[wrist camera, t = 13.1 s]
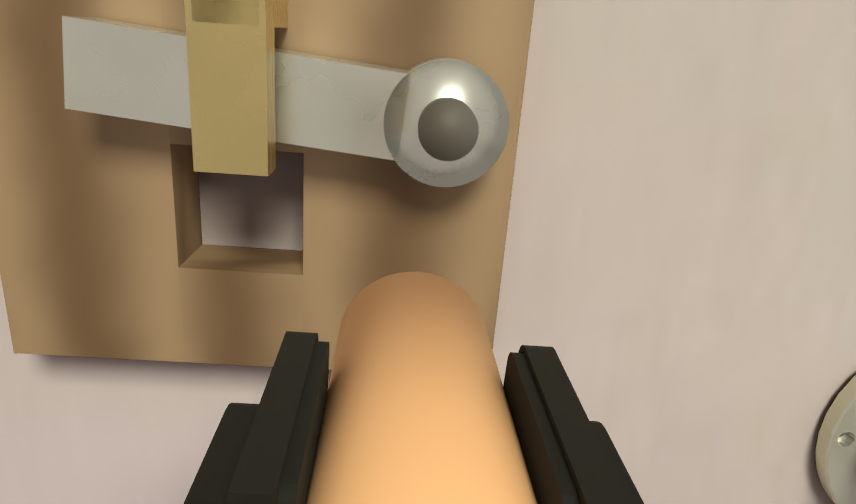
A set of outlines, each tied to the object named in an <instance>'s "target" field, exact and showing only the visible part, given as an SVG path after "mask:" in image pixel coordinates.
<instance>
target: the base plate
mask: <svg viewBox="0 0 856 504" xmlns="http://www.w3.org/2000/svg"><path fill="white" fill-rule="evenodd" d="M533 8H534V0H288V28H277V27H274V31H275V48H280V49H286V50H292V51H298V52H304V53H310V54H316V55H321V56H327V57H333V58H339V59H345V60H351V61H357V62H363V63H369V64H375V65H381V66H387V67H393V68H399V69H404V70H409V69H410V68H412V67H413V66H415V65H417V64H419V63H421V62H423V61H426V60H429V59H433V58H441V57H448V58H455V59H459V60H463V61H465V62H468V63H470V64H472V65H474V66H475V67H477V68H479V69H481V70H482V71H483V72H485V73H486V74H487V75H489V76H490V77H491V78H492V79H493V80H494V82H495V83H496V84H497V86H498V87H499V88H500V90H501V92H502V94H503V96H504V98H505V101H506V103H507V107H508V112H509V133H508V138H507V142H506V145H505V147H504V150H503V152H502V154H501V155H500V157H499V159H498V160H497V161H496V163H495V164H494V165H493V166H492V167H491V168H490V169H489V170H488V171H487V172H486V173H485V174H484V175H482V176H481V177H479V178H478V179H476V180H474V181H472V182H470V183H467V184H464V185H461V186H455V187H436V186H431V185H427V184H425V183H422V182H420V181H418V180H416V179H414V178H412V177H411V176H409V175H408V174H407V173H406V172H405V171H403V170H402V169H401V168H400V167H399V165H398V164H397V163H396V162H395V161H394V160H388V159H381V158H375V157H369V156H362V155H356V154H350V153H343V152H337V151H331V150H324V149H318V148H312V147H305V146H299V145H293V144H286V143H280V142H276V151H282V152H297V153H304V179H303V251H296V250H280V249H264V248H248V247H231V246H215V245H202V235H201V216H200V197H199V178H198V172H195V171H194V168H193V150H192V132H191V128H185V127H179V126H173V125H166V124H160V123H154V122H147V121H141V120H135V119H128V118H122V117H116V116H109V115H103V114H97V113H90V112H84V111H78V110H71V109H65V99H64V67H63V36H62V16H75V17H93V18H102V19H108V20H114V21H120V22H126V23H132V24H138V25H144V26H150V27H155V28H161V29H167V30H173V31H179V32H185V33H186V24H185V6H184V0H0V274H1V280H2V286H3V291H4V297H5V303H6V309H7V315H8V321H9V327H10V332H11V338H12V344H13V350H14V353H23V354H42V355H61V356H79V357H98V358H116V359H135V360H154V361H172V362H191V363H209V364H228V365H246V366H265V367H273V365H274V363H275V360H276V357H277V354H278V352H279V349H280V346H281V343H282V341H283V338H284V335H285V333H286V331H293V332H310V333H318V339H319V341H324V342H329V345H330V348H329V370H332V365H333V360H334V355H335V349H336V344H337V339H338V334H339V329H340V324H341V321H342V318H343V315H344V313H345V311H346V309H347V307H348V306H349V304H350V302H351V301H352V300H353V299H354V298H355V296H356V295H357V294H358V293H359V292H361V291H362V290H363V289H364V288H365V287H367V286H368V285H370V284H371V283H373V282H375V281H377V280H378V279H381V278H383V277H386V276H389V275H392V274H396V273H402V272H425V273H431V274H435V275H438V276H441V277H444V278H446V279H448V280H450V281H452V282H454V283H455V284H457V285H458V286H460V287H461V288H462V289H464V290H465V291H466V292H467V293H468V294H469V295H470V296H471V298H472V299H473V300H474V301H475V303H476V304H477V306H478V308H479V310H480V312H481V314H482V317H483V320H484V323H485V327H486V330H487V333H488V337H489V340H490V344H491V347H492V350H493V341H494V333H495V325H496V316H497V308H498V300H499V291H500V283H501V275H502V266H503V258H504V250H505V241H506V233H507V225H508V217H509V208H510V200H511V192H512V183H513V175H514V167H515V158H516V150H517V142H518V133H519V125H520V117H521V108H522V100H523V92H524V83H525V75H526V67H527V58H528V50H529V42H530V33H531V25H532V17H533ZM478 134H479V127H478V122H477V119H476V117H475V115H474V113H473V112H472V110H471V109H470V108H469V107H468V106H467V104H465V103H464V102H462V101H461V100H459V99H456V98H452V97H442V98H438V99H436V100H434V101H432V102H430V103H429V104H428V105H427V106H426V107H425V108H424V109H423V111H422V113H421V115H420V117H419V121H418V137H419V141H420V143H421V145H422V147H423V149H424V150H425V151H426V152H427V153H428V154H429V155H430V156H432V157H433V158H435V159H438V160H441V161H455V160H458V159H461V158H463V157H464V156H466V155H467V154H468V153H469V152H470V151H471V150H472V149H473V147H474V146H475V144H476V142H477V139H478Z"/></svg>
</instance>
